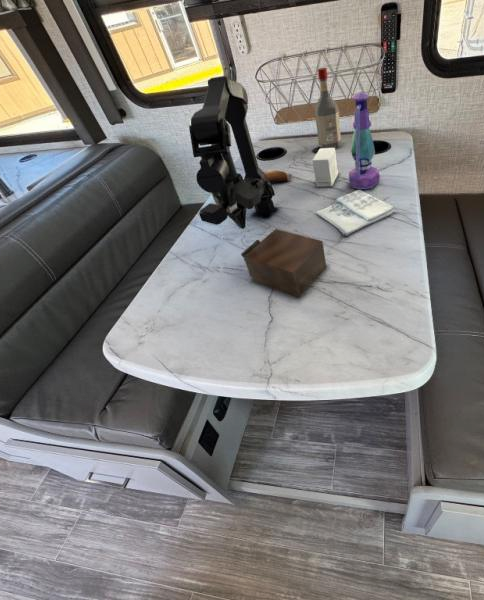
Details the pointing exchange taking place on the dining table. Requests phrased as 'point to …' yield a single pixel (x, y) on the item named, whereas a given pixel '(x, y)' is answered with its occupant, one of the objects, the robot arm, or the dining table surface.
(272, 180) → the sunglasses case
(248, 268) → the drawer
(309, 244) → the cabinet
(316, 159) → the cosmetics box
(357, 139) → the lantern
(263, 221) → the dining table surface
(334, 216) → the open white book
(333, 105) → the liquor
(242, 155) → the robot arm
